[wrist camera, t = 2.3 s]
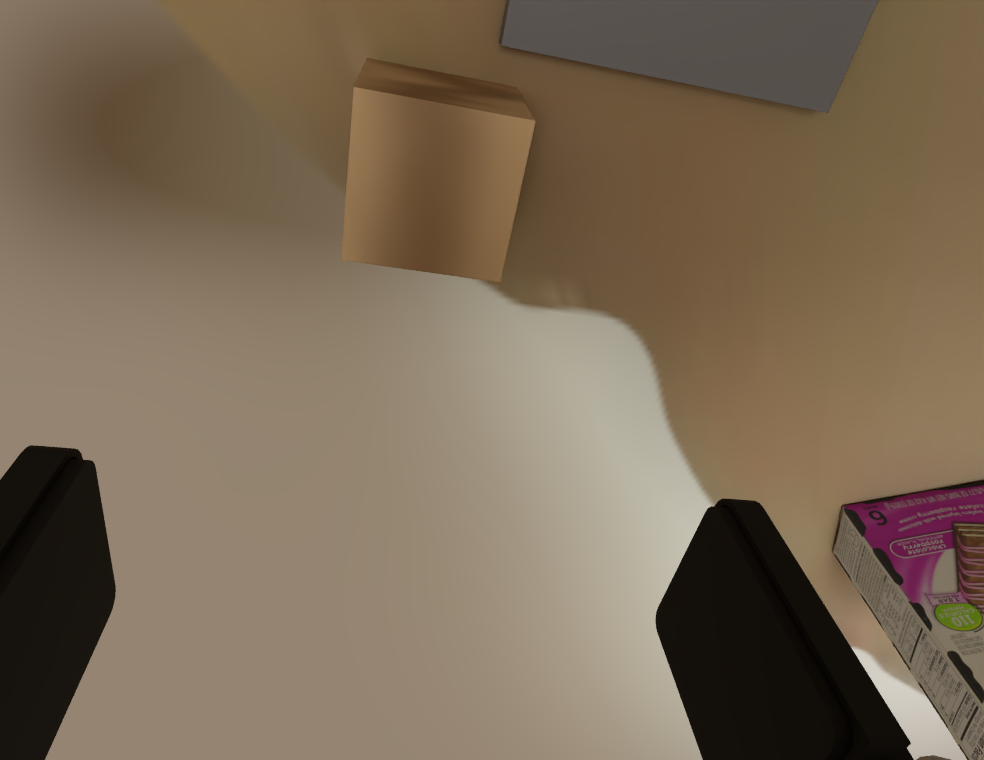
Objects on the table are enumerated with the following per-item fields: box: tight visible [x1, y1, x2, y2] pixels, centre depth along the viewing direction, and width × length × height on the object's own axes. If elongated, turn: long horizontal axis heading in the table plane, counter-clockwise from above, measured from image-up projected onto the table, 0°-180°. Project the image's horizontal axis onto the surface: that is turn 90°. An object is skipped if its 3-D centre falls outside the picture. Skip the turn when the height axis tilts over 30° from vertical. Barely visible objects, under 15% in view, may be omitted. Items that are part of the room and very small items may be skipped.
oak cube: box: [341, 58, 536, 282], centre depth 26 cm, size 6×6×6 cm
